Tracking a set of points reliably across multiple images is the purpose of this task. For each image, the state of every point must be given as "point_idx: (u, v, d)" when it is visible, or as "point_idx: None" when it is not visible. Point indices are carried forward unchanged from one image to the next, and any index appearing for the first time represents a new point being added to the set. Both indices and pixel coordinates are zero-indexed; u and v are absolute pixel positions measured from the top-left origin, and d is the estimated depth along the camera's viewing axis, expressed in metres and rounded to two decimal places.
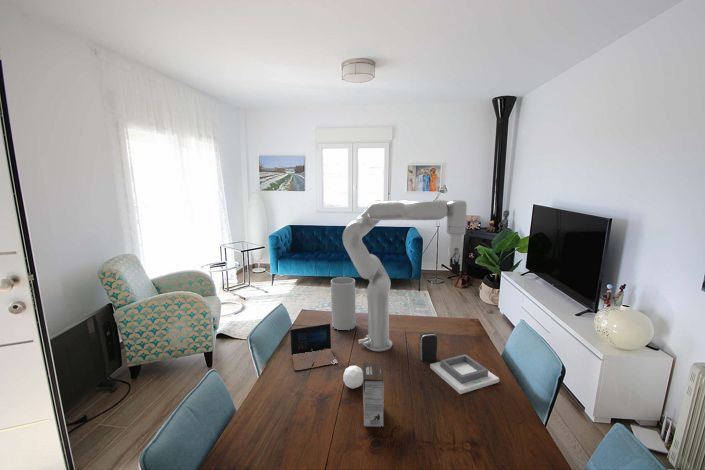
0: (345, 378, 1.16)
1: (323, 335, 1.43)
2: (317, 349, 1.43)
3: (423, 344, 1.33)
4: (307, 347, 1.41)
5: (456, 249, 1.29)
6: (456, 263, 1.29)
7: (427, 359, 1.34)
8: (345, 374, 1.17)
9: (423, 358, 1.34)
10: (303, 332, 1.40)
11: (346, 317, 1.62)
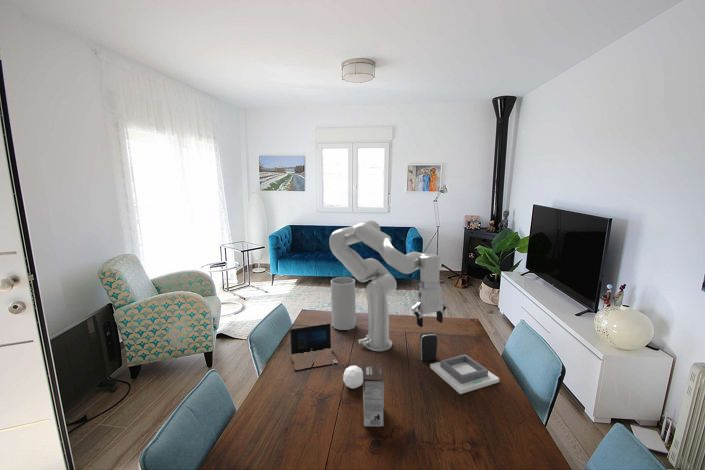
0: (345, 378, 1.16)
1: (323, 335, 1.43)
2: (317, 349, 1.43)
3: (423, 344, 1.33)
4: (307, 347, 1.41)
5: None
6: None
7: (427, 359, 1.34)
8: (345, 374, 1.17)
9: (423, 358, 1.34)
10: (303, 331, 1.40)
11: (346, 317, 1.62)
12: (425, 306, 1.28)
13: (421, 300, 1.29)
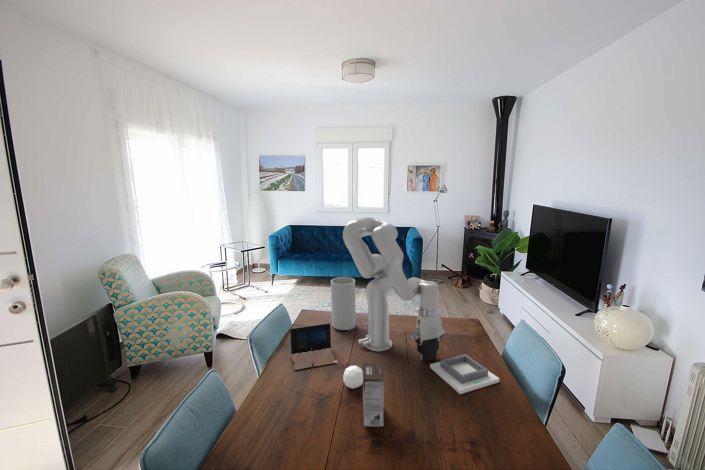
0: (345, 378, 1.16)
1: (323, 335, 1.43)
2: (317, 349, 1.43)
3: (423, 344, 1.33)
4: (307, 347, 1.42)
5: None
6: None
7: (427, 359, 1.34)
8: (345, 374, 1.17)
9: (423, 358, 1.34)
10: (303, 331, 1.40)
11: (346, 317, 1.62)
12: (424, 333, 1.30)
13: (420, 327, 1.31)
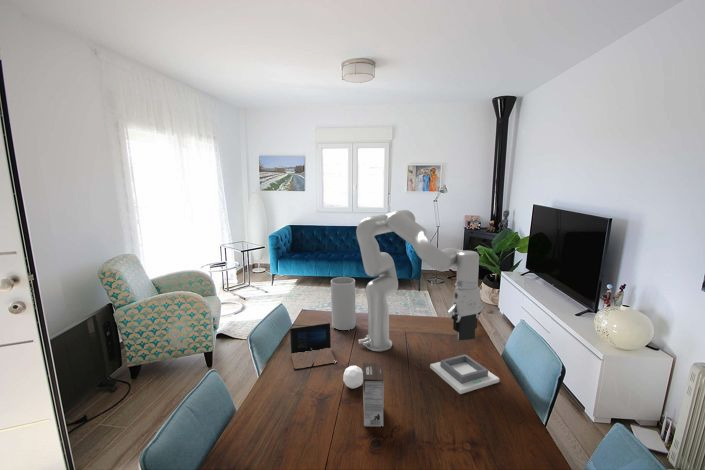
0: (345, 378, 1.16)
1: (323, 334, 1.43)
2: (317, 348, 1.44)
3: (461, 321, 1.19)
4: (306, 346, 1.42)
5: None
6: None
7: (465, 338, 1.20)
8: (345, 374, 1.17)
9: (460, 337, 1.20)
10: (303, 331, 1.41)
11: (346, 317, 1.62)
12: (462, 308, 1.16)
13: (458, 301, 1.17)
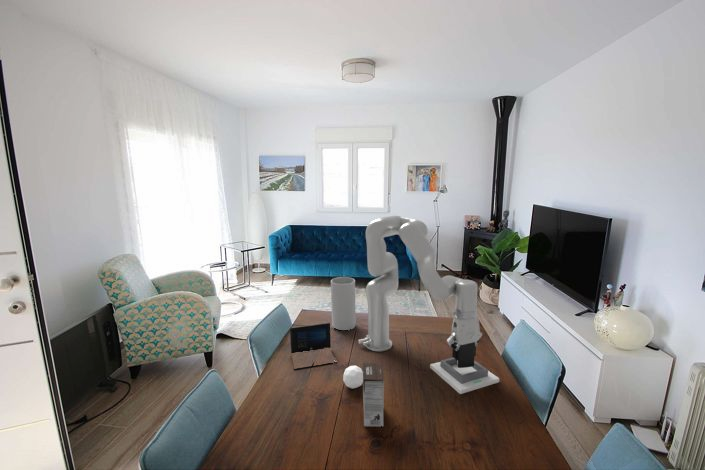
0: (345, 378, 1.16)
1: (323, 334, 1.44)
2: (317, 348, 1.44)
3: (460, 349, 1.21)
4: (306, 346, 1.42)
5: None
6: None
7: (464, 366, 1.22)
8: (345, 374, 1.17)
9: (459, 364, 1.22)
10: (303, 331, 1.41)
11: (346, 317, 1.62)
12: (461, 337, 1.18)
13: (457, 330, 1.19)
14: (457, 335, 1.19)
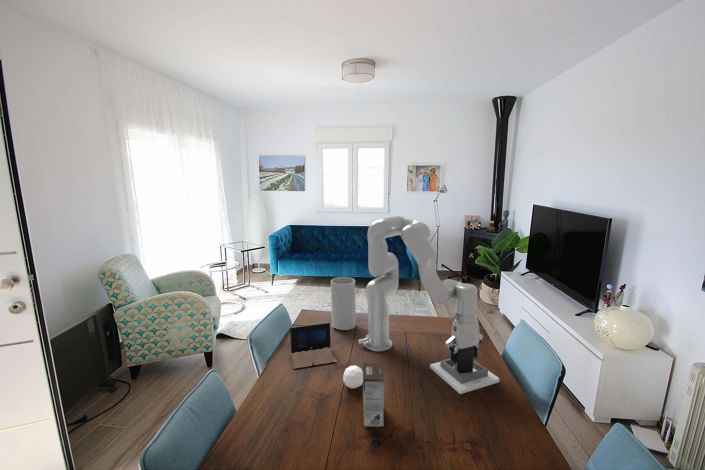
0: (345, 378, 1.16)
1: (323, 334, 1.44)
2: (317, 348, 1.44)
3: (459, 355, 1.21)
4: (306, 346, 1.43)
5: None
6: None
7: (463, 371, 1.22)
8: (345, 374, 1.17)
9: (458, 370, 1.22)
10: (303, 330, 1.41)
11: (346, 317, 1.62)
12: (461, 341, 1.18)
13: (456, 334, 1.19)
14: (457, 339, 1.19)
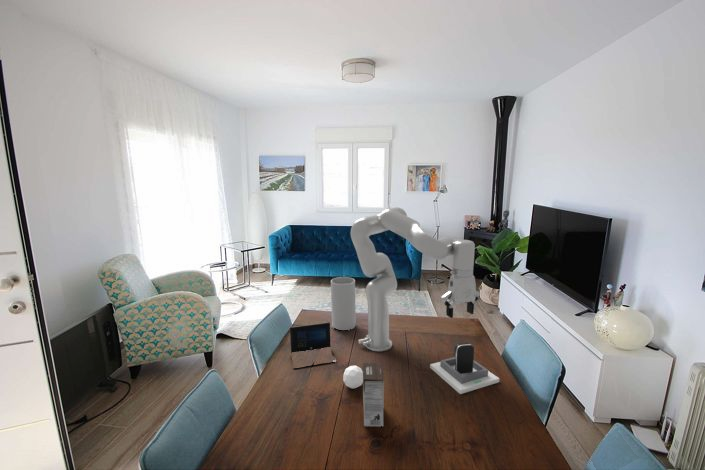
0: (345, 378, 1.16)
1: (323, 334, 1.44)
2: (317, 347, 1.44)
3: (459, 355, 1.21)
4: (306, 346, 1.43)
5: None
6: None
7: (463, 371, 1.22)
8: (345, 374, 1.17)
9: (458, 370, 1.22)
10: (303, 330, 1.41)
11: (346, 317, 1.62)
12: (457, 295, 1.19)
13: (453, 289, 1.20)
14: (453, 293, 1.20)
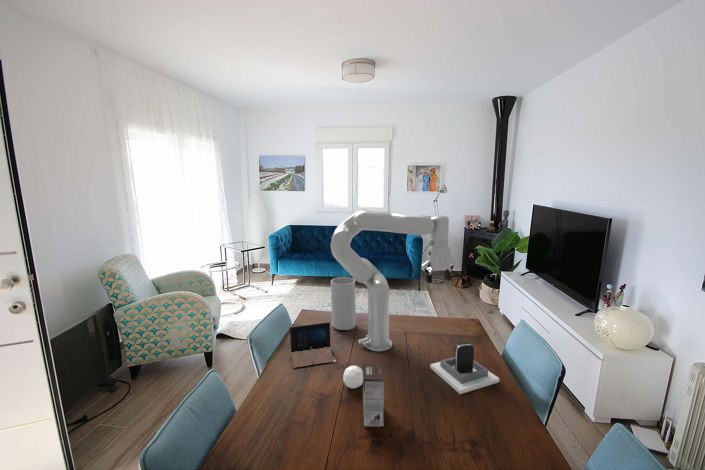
0: (345, 378, 1.16)
1: (322, 333, 1.44)
2: (316, 347, 1.45)
3: (459, 355, 1.21)
4: (306, 345, 1.43)
5: None
6: None
7: (463, 371, 1.22)
8: (345, 374, 1.17)
9: (458, 370, 1.22)
10: (303, 330, 1.42)
11: (346, 317, 1.62)
12: (434, 263, 1.39)
13: (431, 258, 1.39)
14: (431, 262, 1.39)
